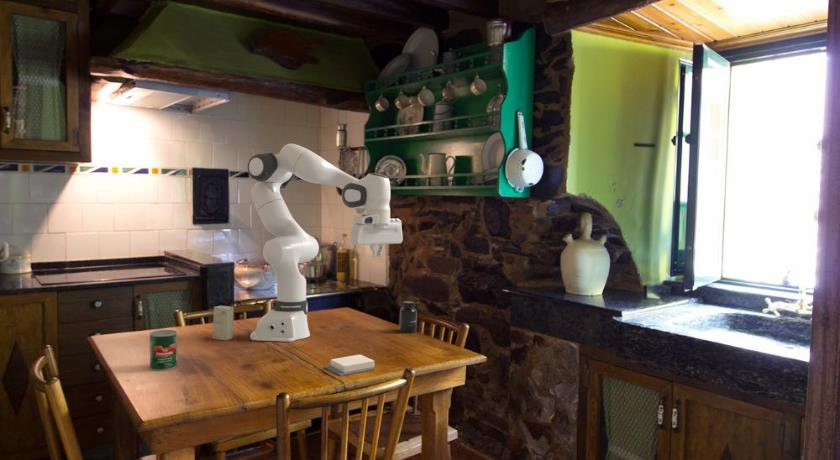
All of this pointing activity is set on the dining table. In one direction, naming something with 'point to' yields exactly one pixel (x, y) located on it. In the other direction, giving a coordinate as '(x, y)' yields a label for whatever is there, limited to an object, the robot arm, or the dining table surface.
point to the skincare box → (223, 322)
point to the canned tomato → (163, 350)
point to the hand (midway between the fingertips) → (377, 256)
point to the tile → (352, 363)
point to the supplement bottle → (408, 317)
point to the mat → (346, 372)
